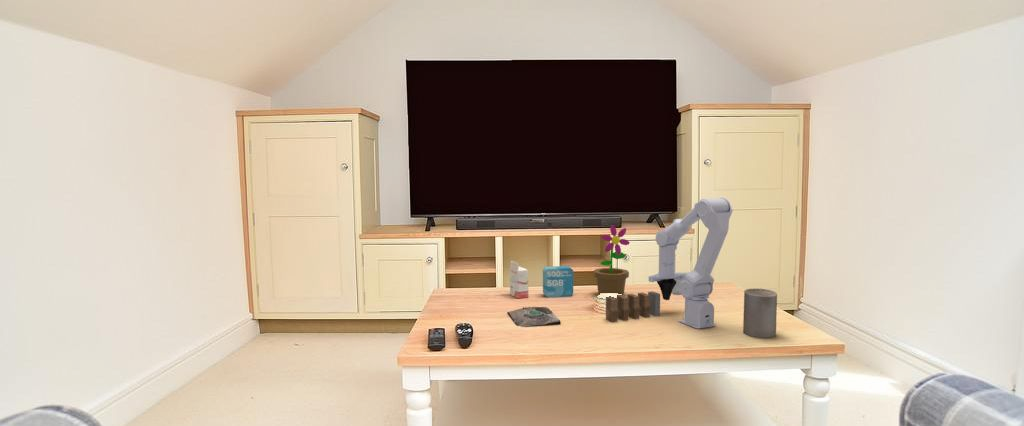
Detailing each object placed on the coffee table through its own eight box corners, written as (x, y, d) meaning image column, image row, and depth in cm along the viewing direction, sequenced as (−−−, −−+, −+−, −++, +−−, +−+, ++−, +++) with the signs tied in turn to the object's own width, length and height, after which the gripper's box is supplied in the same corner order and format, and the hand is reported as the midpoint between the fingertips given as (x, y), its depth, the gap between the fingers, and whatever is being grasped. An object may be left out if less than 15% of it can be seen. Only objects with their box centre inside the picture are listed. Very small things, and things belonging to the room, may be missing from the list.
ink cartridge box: (529, 297, 224) (529, 262, 223) (518, 299, 222) (518, 263, 221) (520, 293, 232) (519, 259, 230) (509, 294, 230) (509, 260, 228)
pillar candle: (748, 327, 182) (749, 283, 181) (779, 332, 176) (781, 287, 175) (739, 334, 175) (740, 289, 173) (771, 340, 169) (773, 293, 167)
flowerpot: (602, 301, 218) (602, 226, 215) (588, 292, 231) (588, 222, 228) (634, 298, 221) (635, 225, 219) (618, 290, 235) (619, 221, 232)
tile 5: (617, 321, 190) (617, 299, 189) (612, 322, 189) (612, 299, 188) (610, 318, 194) (610, 296, 193) (605, 319, 193) (605, 296, 192)
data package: (545, 297, 224) (545, 269, 223) (542, 295, 228) (542, 266, 227) (573, 296, 226) (573, 267, 225) (570, 293, 230) (570, 265, 229)
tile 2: (649, 317, 195) (649, 295, 194) (644, 317, 194) (645, 295, 194) (642, 313, 199) (642, 292, 198) (637, 314, 198) (637, 293, 198)
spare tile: (659, 315, 197) (660, 293, 196) (655, 316, 196) (655, 294, 195) (652, 312, 201) (652, 291, 200) (647, 313, 200) (648, 291, 199)
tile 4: (628, 320, 192) (628, 297, 191) (623, 320, 191) (623, 298, 190) (621, 316, 196) (621, 295, 195) (616, 317, 195) (616, 295, 194)
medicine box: (690, 292, 231) (690, 272, 230) (692, 294, 227) (693, 274, 226) (671, 291, 232) (671, 271, 231) (673, 294, 227) (673, 274, 226)
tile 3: (639, 318, 193) (639, 296, 193) (634, 319, 193) (634, 297, 192) (631, 315, 197) (632, 293, 197) (627, 316, 197) (627, 294, 196)
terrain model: (506, 313, 204) (506, 305, 204) (545, 311, 207) (545, 302, 207) (517, 329, 184) (517, 320, 184) (560, 326, 187) (560, 317, 187)
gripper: (675, 259, 205) (675, 295, 206) (643, 262, 200) (643, 299, 201) (688, 262, 199) (687, 299, 200) (655, 266, 193) (655, 303, 194)
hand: (666, 299), depth 200 cm, fingers closed
